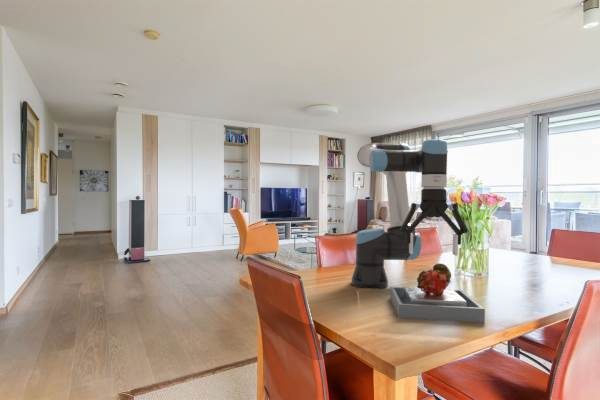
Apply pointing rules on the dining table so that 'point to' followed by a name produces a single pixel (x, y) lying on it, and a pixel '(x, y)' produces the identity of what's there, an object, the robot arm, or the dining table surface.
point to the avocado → (442, 270)
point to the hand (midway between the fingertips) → (432, 254)
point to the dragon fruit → (432, 282)
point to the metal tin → (432, 297)
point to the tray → (438, 309)
